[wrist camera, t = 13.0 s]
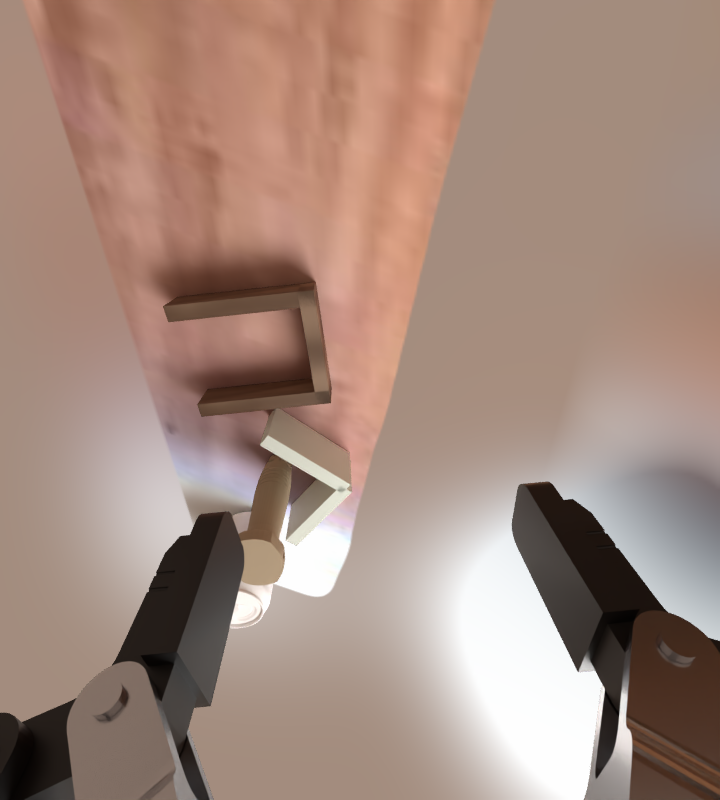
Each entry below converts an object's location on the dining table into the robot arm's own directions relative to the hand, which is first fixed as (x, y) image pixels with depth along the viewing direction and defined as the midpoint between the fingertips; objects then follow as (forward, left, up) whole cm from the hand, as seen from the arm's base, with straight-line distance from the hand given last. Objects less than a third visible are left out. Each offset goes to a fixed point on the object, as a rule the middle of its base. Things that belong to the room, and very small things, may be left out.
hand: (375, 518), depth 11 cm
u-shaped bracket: (+6, -10, -32) cm, 34 cm away
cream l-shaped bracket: (+22, -7, -31) cm, 39 cm away
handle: (+21, -11, -32) cm, 40 cm away
